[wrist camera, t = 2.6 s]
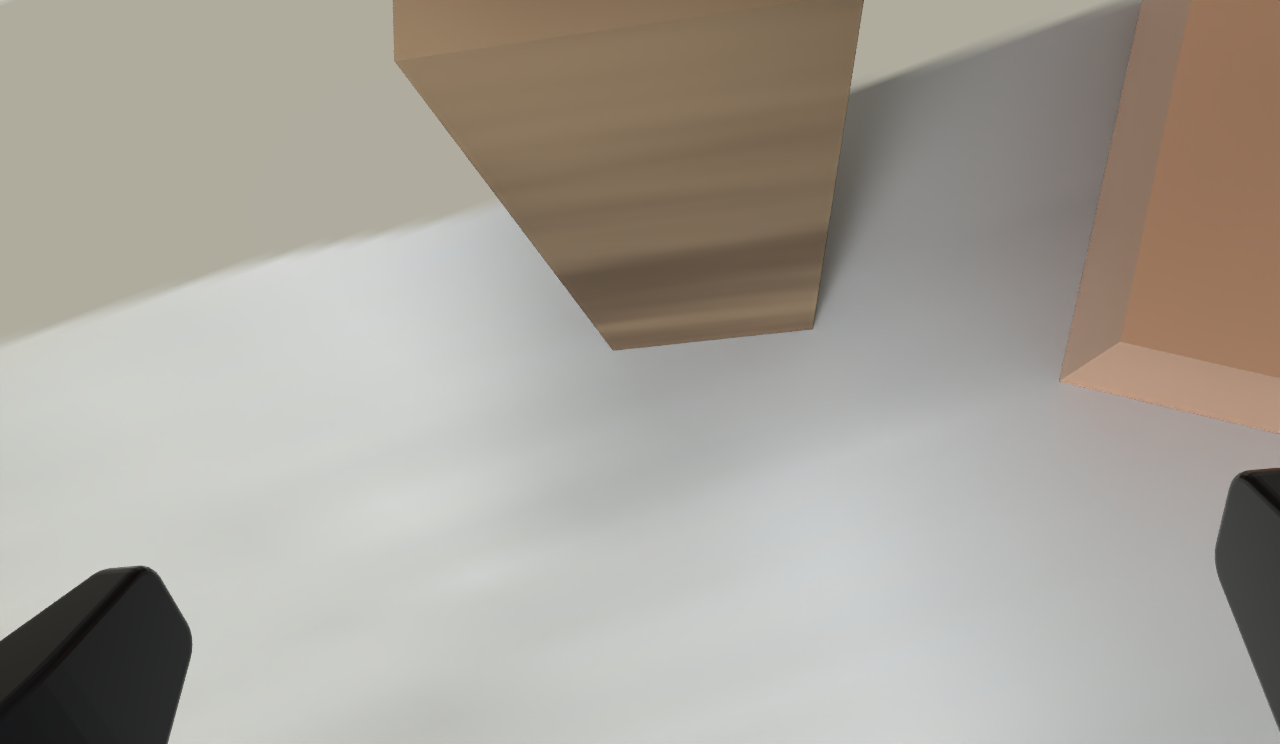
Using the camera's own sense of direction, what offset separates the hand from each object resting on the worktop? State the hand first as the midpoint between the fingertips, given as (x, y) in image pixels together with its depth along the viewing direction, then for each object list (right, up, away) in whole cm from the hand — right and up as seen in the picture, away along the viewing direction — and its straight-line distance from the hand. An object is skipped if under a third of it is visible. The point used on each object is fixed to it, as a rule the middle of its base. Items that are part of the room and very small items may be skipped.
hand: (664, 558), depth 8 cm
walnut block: (+1, +4, +14) cm, 15 cm away
